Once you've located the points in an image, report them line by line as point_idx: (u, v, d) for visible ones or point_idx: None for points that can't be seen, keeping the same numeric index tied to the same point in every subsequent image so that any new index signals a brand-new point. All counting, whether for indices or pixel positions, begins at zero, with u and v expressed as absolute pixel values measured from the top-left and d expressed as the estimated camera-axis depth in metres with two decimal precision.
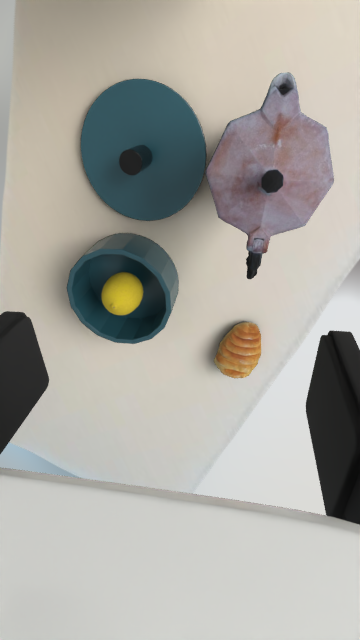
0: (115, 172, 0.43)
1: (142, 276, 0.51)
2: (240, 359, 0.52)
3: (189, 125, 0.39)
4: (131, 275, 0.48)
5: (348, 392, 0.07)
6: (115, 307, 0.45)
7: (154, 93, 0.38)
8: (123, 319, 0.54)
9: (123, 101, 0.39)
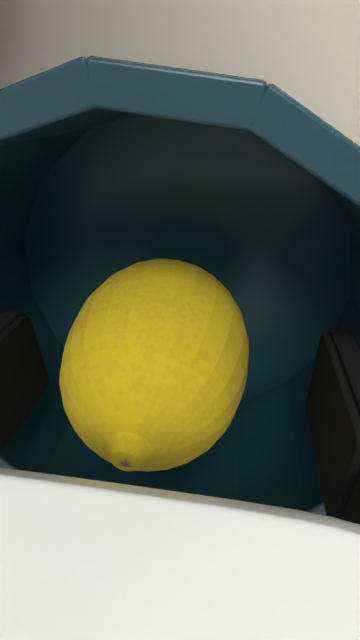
0: None
1: (184, 246, 0.13)
2: None
3: None
4: (117, 272, 0.11)
5: (348, 392, 0.07)
6: (132, 457, 0.07)
7: None
8: (280, 400, 0.15)
9: None
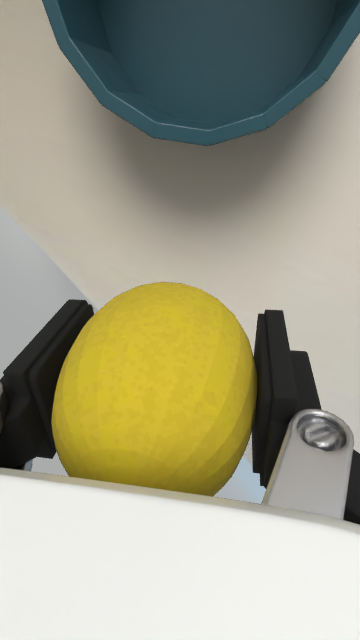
0: None
1: None
2: None
3: None
4: (116, 297, 0.10)
5: (265, 358, 0.09)
6: None
7: None
8: (293, 82, 0.19)
9: None
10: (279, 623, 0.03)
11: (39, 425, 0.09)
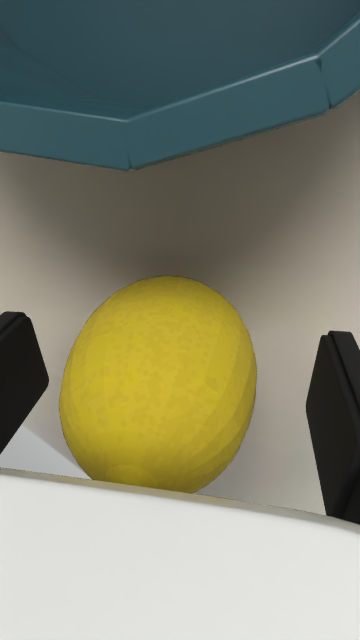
0: None
1: None
2: None
3: None
4: (120, 290, 0.10)
5: (348, 392, 0.07)
6: None
7: None
8: None
9: None
10: (279, 623, 0.03)
11: None
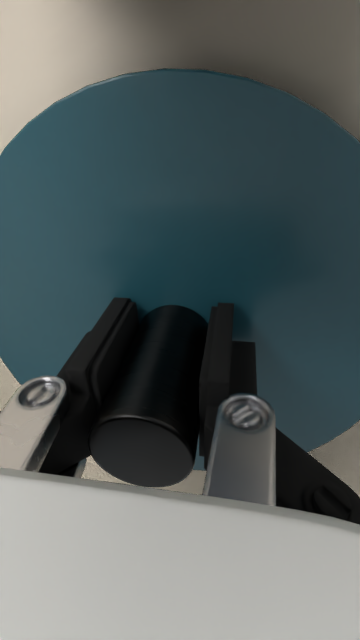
0: None
1: None
2: None
3: (57, 156, 0.10)
4: None
5: (208, 347, 0.09)
6: None
7: None
8: None
9: (39, 359, 0.14)
10: (279, 623, 0.03)
11: None
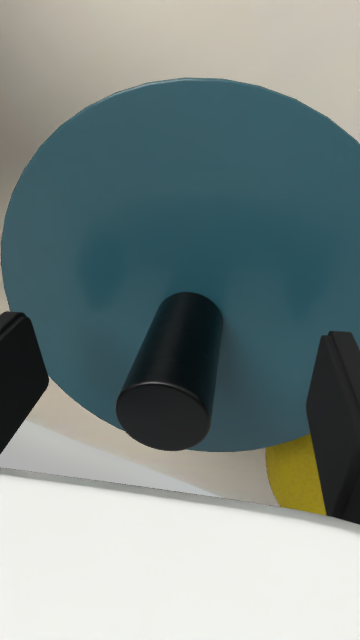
0: (230, 393, 0.15)
1: None
2: None
3: (86, 155, 0.11)
4: None
5: (348, 392, 0.07)
6: None
7: (26, 266, 0.13)
8: None
9: (61, 344, 0.15)
10: (279, 623, 0.03)
11: None
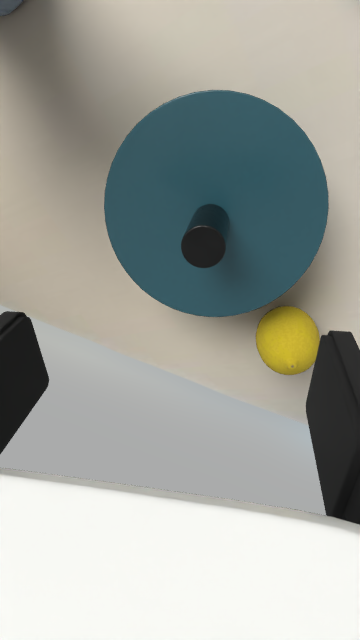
0: (232, 270, 0.26)
1: None
2: None
3: (161, 128, 0.21)
4: (262, 319, 0.32)
5: (348, 392, 0.07)
6: (293, 363, 0.28)
7: (120, 192, 0.24)
8: None
9: (133, 243, 0.26)
10: (279, 623, 0.03)
11: None
